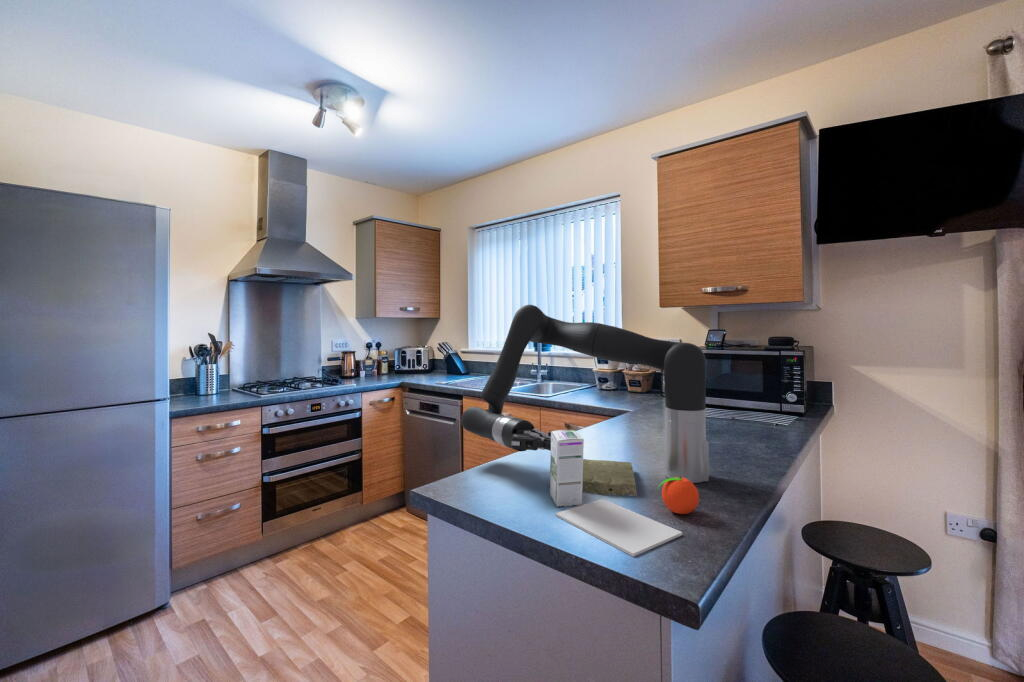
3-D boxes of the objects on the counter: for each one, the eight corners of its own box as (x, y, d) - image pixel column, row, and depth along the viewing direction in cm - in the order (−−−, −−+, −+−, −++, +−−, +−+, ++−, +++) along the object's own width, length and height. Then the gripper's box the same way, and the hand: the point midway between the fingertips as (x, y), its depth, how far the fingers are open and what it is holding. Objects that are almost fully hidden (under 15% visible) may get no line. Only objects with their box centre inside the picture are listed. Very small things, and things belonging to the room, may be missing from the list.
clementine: (663, 520, 82) (663, 483, 81) (651, 506, 88) (651, 471, 88) (705, 520, 82) (705, 482, 81) (690, 505, 88) (690, 471, 88)
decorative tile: (555, 468, 116) (555, 455, 116) (632, 472, 111) (632, 459, 111) (546, 493, 97) (546, 477, 97) (638, 499, 93) (638, 483, 93)
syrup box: (582, 505, 89) (585, 438, 87) (555, 507, 88) (557, 439, 86) (574, 492, 94) (577, 428, 92) (548, 493, 93) (550, 429, 91)
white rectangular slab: (555, 515, 84) (555, 513, 84) (602, 501, 91) (602, 498, 91) (633, 556, 68) (633, 553, 68) (682, 535, 75) (682, 532, 75)
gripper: (490, 420, 103) (534, 433, 89) (534, 414, 111) (581, 426, 96) (490, 451, 103) (534, 469, 89) (534, 443, 111) (581, 459, 96)
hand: (558, 447), depth 93 cm, fingers closed
